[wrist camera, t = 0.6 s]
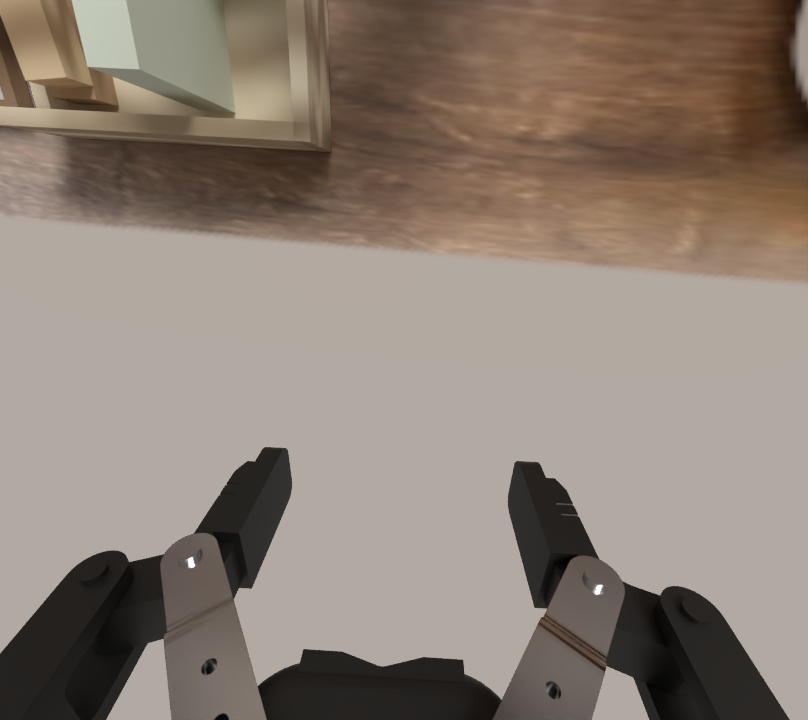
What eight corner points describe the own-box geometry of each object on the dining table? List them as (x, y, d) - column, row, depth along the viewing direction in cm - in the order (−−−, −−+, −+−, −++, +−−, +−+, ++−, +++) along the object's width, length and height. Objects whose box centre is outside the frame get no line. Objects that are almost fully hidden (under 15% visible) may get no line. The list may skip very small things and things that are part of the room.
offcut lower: (42, -36, 29) (9, -55, 26) (88, -33, 29) (59, -53, 26) (78, 104, 32) (52, 97, 30) (119, 106, 32) (96, 99, 30)
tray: (17, -71, 29) (-102, -151, 22) (326, -57, 28) (298, -134, 22) (74, 138, 34) (-8, 124, 28) (331, 152, 34) (310, 141, 27)
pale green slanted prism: (181, -29, 28) (31, -169, 17) (219, -27, 28) (93, -167, 17) (201, 110, 32) (87, 66, 21) (235, 112, 32) (139, 69, 21)
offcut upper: (14, -28, 27) (-24, -48, 25) (55, -32, 27) (21, -53, 24) (55, 89, 30) (25, 80, 27) (93, 86, 30) (66, 77, 27)
